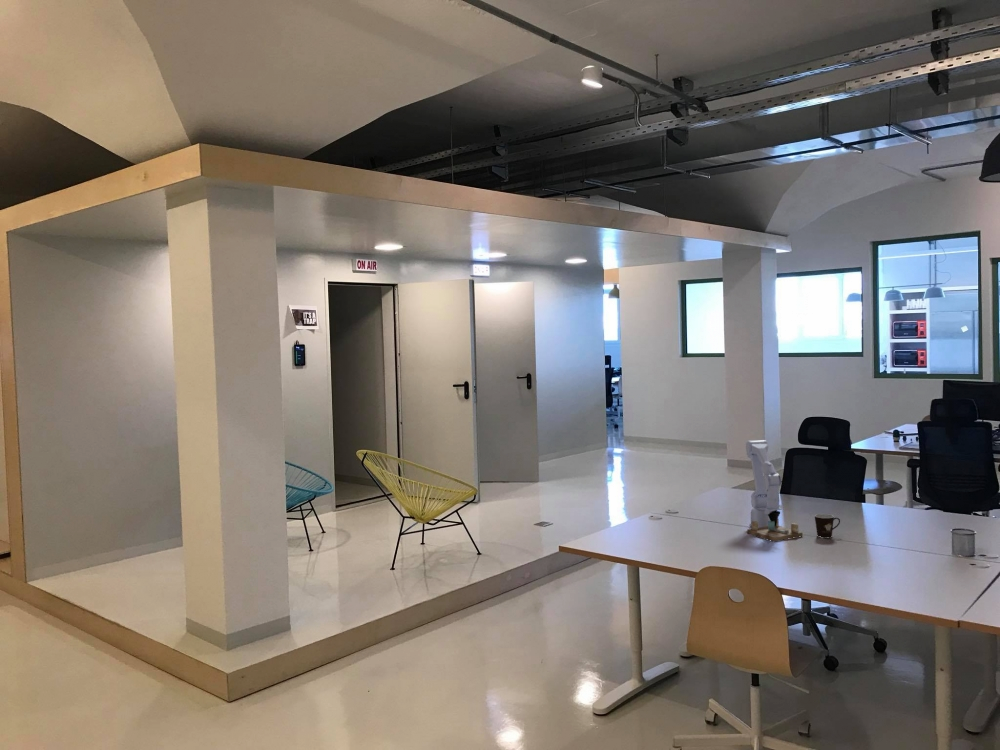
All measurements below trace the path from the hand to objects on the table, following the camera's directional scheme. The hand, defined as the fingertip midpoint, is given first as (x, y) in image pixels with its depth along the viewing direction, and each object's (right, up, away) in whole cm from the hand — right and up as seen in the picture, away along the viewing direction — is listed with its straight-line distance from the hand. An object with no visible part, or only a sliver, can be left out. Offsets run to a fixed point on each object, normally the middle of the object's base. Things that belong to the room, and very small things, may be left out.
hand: (773, 525), depth 377 cm
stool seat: (0, -4, -2) cm, 5 cm away
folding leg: (+1, -2, -4) cm, 5 cm away
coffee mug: (+23, -4, -9) cm, 25 cm away
